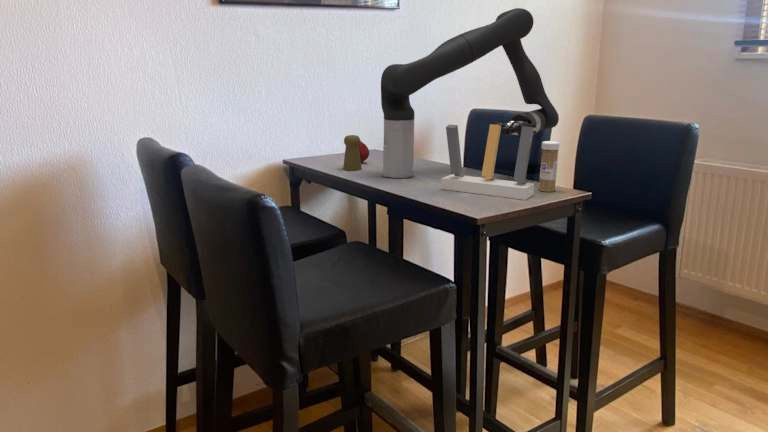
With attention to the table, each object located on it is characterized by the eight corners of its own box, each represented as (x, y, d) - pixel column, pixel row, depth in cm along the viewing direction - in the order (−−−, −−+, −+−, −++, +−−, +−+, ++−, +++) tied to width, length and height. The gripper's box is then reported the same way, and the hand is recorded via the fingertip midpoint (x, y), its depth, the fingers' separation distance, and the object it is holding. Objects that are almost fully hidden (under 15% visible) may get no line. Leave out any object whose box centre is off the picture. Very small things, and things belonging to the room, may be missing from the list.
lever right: (512, 182, 157) (522, 126, 157) (515, 183, 158) (524, 127, 158) (522, 183, 155) (531, 126, 155) (524, 184, 157) (533, 128, 157)
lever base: (440, 189, 166) (441, 177, 165) (451, 184, 171) (452, 173, 170) (524, 199, 153) (525, 187, 153) (533, 194, 159) (534, 182, 158)
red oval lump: (372, 162, 205) (372, 139, 203) (363, 165, 200) (362, 141, 198) (358, 161, 208) (358, 138, 206) (348, 163, 203) (348, 140, 201)
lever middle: (480, 178, 161) (489, 124, 161) (483, 179, 163) (492, 125, 163) (489, 179, 160) (499, 124, 160) (492, 180, 161) (501, 126, 162)
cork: (359, 171, 190) (358, 136, 187) (340, 170, 191) (340, 136, 189) (363, 167, 196) (363, 134, 193) (345, 167, 197) (345, 133, 194)
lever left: (451, 177, 166) (445, 127, 159) (454, 173, 168) (448, 124, 160) (459, 178, 165) (454, 128, 157) (462, 174, 166) (457, 125, 159)
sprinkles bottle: (535, 190, 164) (539, 141, 161) (543, 187, 167) (546, 140, 164) (551, 193, 161) (555, 143, 158) (558, 190, 165) (562, 141, 161)
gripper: (504, 111, 184) (483, 117, 170) (547, 113, 177) (528, 119, 163) (503, 135, 186) (482, 143, 172) (545, 138, 179) (527, 146, 165)
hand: (504, 131), depth 168 cm, fingers closed
